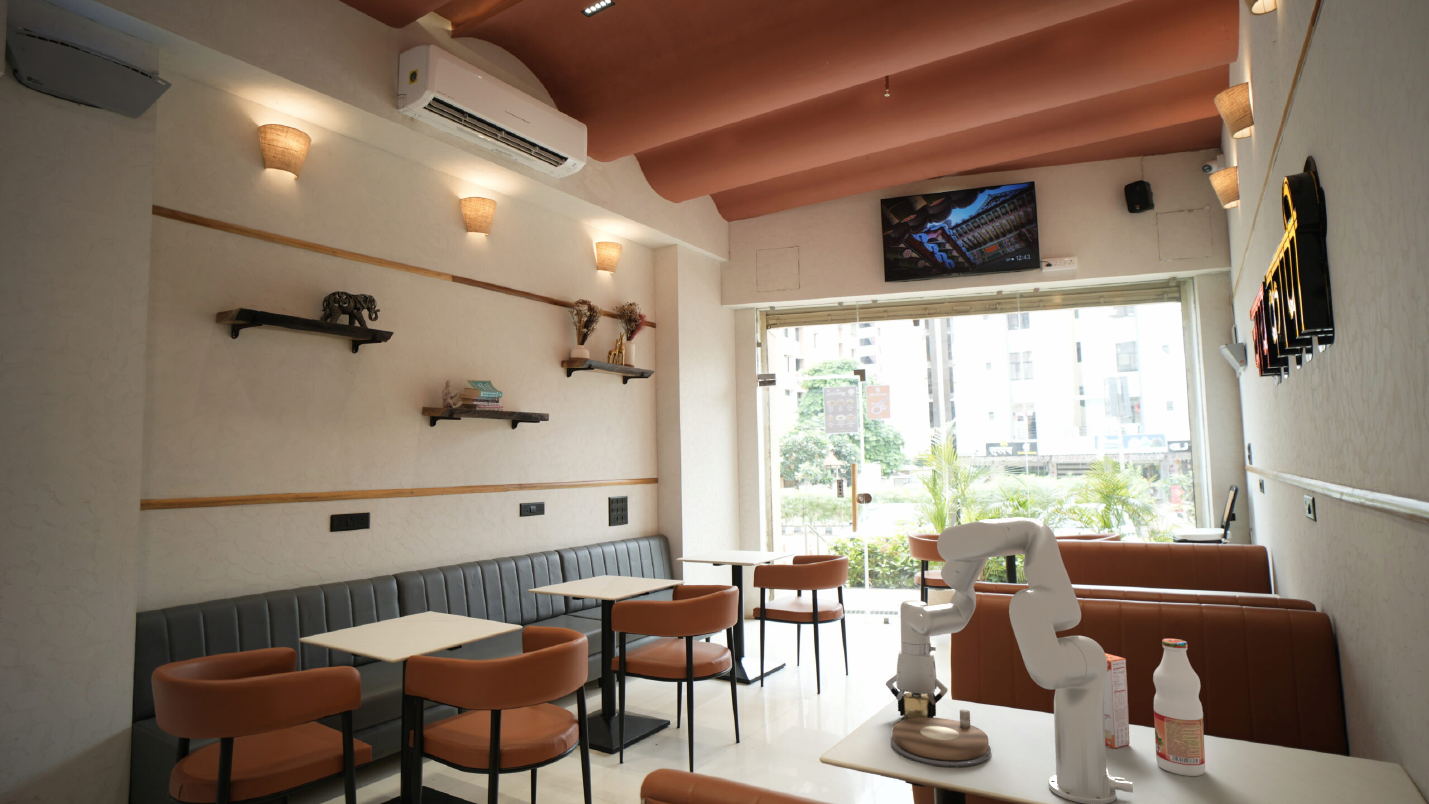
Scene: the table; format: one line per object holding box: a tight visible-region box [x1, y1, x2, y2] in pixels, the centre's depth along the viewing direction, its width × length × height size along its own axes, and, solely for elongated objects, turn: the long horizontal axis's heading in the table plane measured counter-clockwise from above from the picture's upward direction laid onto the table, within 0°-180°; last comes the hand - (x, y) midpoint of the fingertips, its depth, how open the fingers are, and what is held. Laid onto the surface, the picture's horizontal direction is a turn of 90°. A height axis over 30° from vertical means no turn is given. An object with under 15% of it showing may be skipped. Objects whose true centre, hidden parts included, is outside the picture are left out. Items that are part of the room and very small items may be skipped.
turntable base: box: [890, 734, 992, 769], centre depth 179 cm, size 23×23×1 cm
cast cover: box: [902, 692, 930, 721], centre depth 199 cm, size 7×7×7 cm
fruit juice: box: [1152, 638, 1206, 777], centre depth 168 cm, size 9×9×28 cm
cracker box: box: [1104, 652, 1130, 749], centre depth 186 cm, size 14×6×21 cm, turn 25°
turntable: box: [892, 708, 990, 760], centre depth 179 cm, size 22×22×6 cm
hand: (916, 715), depth 199 cm, fingers closed on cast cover, 7 cm apart
